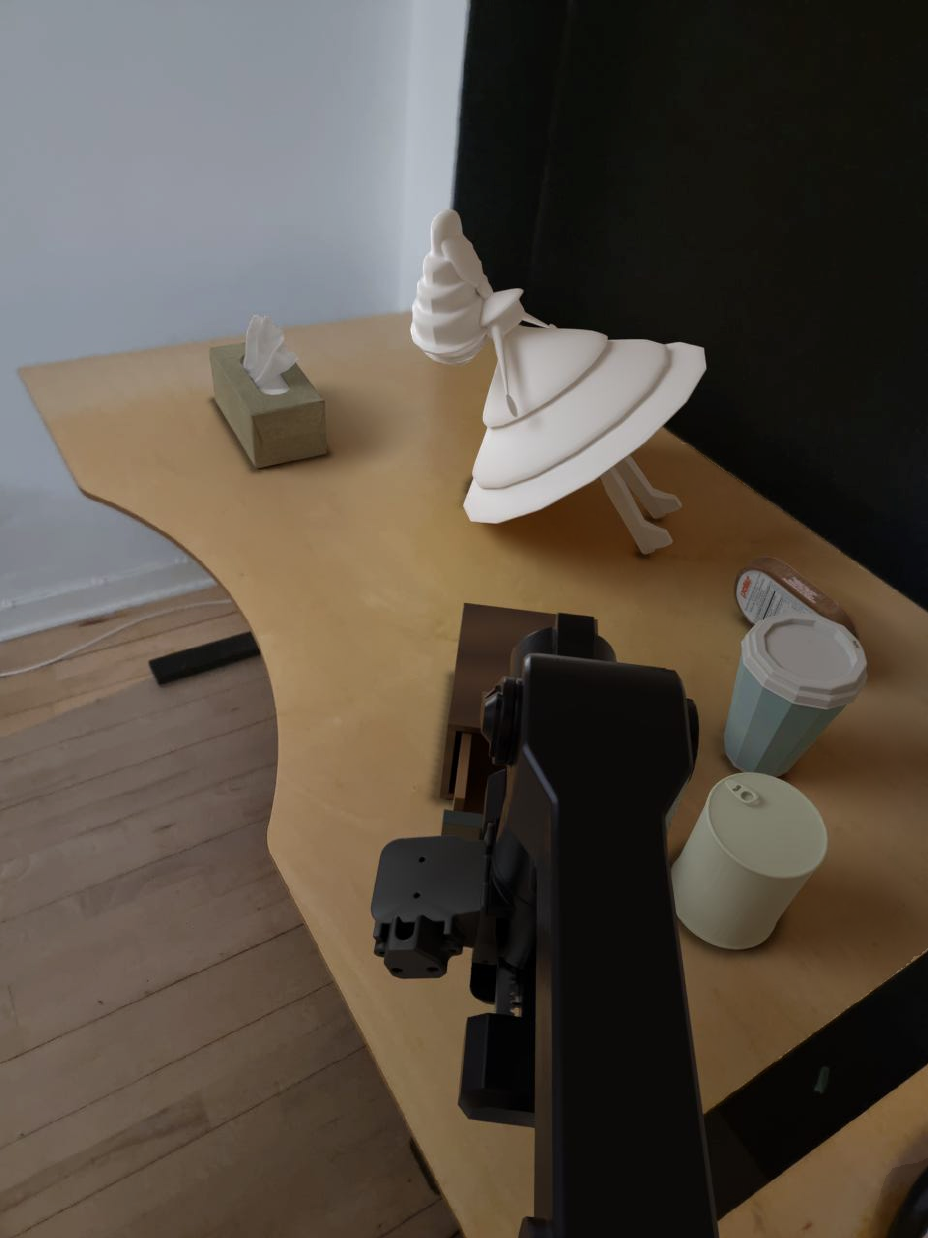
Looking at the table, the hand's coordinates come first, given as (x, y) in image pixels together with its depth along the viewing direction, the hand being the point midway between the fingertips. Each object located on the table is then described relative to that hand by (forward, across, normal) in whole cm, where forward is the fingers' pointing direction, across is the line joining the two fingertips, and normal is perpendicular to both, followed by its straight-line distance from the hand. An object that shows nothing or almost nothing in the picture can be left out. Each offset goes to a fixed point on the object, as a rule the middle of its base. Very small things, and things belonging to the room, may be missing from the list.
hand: (512, 989), depth 51 cm
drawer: (+12, -18, 0) cm, 21 cm away
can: (+13, -16, +19) cm, 28 cm away
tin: (+13, -48, +29) cm, 57 cm away
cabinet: (+13, -29, 0) cm, 32 cm away
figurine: (+13, -68, +1) cm, 69 cm away
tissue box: (+13, -78, -36) cm, 87 cm away
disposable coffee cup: (+13, -32, +24) cm, 42 cm away
